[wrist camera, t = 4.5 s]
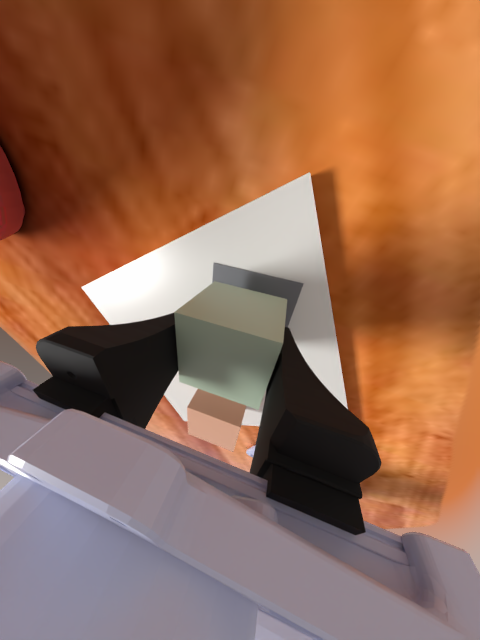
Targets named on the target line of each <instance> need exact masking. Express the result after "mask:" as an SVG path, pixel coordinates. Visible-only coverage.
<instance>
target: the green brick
mask: <svg viewBox="0 0 480 640" xmlns="http://www.w3.org/2000/svg"><path fill="white" fill-rule="evenodd" d="M286 308H287V299H285V298H281V297H277V296H272V295H268V294H264V293H260V292H256V291H252V290H248V289H244V288H240V287H236V286H232V285H228V284H224V283H220V282H216V281H214V282H213V283H212V284H210V285H209V286H208V287H206V288H205V289H204V290H202V291H201V292H200V293H199V294H197V295H196V296H195V297H193V298H192V299H191V300H189V301H188V302H187V303H186V304H184V305H183V306H182V307H180V308H179V309H178V310H176V311H175V312H174V316H175V329H176V343H177V356H178V370H179V382H181V383H184V384H187V385H189V386H192V387H195V388H198V389H201V390H203V391H206V392H209V393H212V394H215V395H217V396H220V397H223V398H226V399H229V400H232V401H234V402H237V403H240V404H243V405H246V406H248V407H251V408H254V409H257V410H259V407H260V404H261V402H262V399H263V396H264V394H265V391H266V388H267V386H268V383H269V380H270V378H271V375H272V372H273V369H274V367H275V364H276V361H277V359H278V356H279V353H280V351H281V348H282V345H283V340H284V330H285V319H286Z"/></svg>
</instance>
